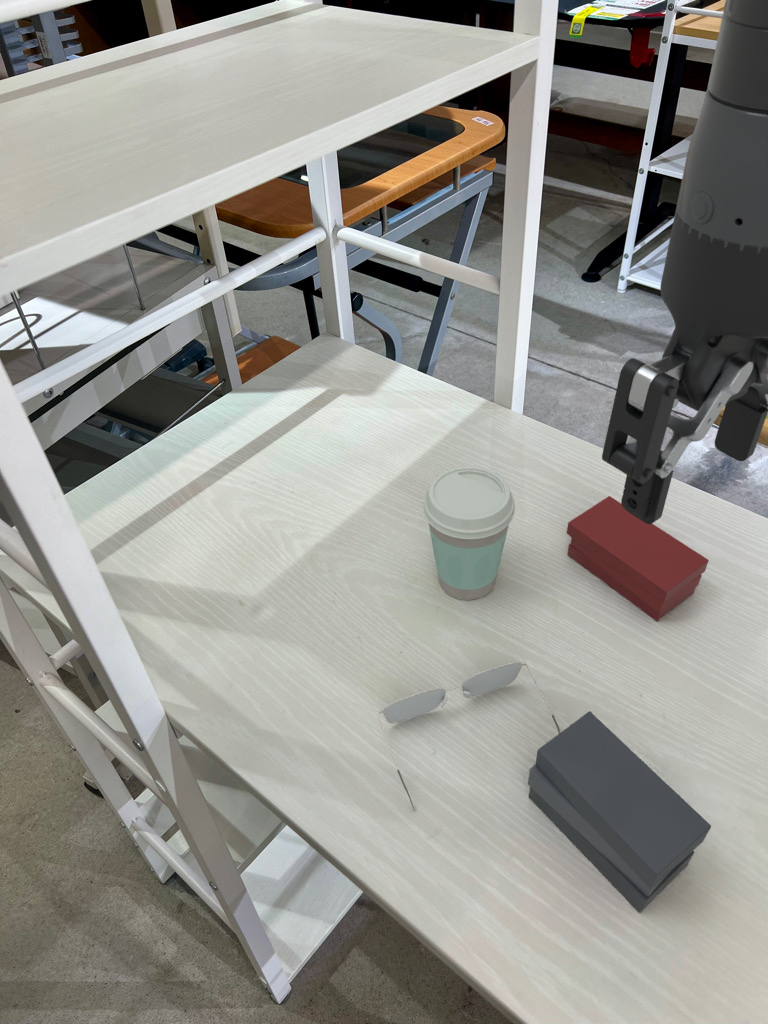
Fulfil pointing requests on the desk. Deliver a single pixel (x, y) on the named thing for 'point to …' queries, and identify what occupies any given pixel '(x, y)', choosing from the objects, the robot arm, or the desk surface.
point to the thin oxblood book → (637, 549)
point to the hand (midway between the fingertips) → (688, 482)
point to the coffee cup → (468, 528)
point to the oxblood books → (628, 583)
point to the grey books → (615, 810)
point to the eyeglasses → (434, 697)
